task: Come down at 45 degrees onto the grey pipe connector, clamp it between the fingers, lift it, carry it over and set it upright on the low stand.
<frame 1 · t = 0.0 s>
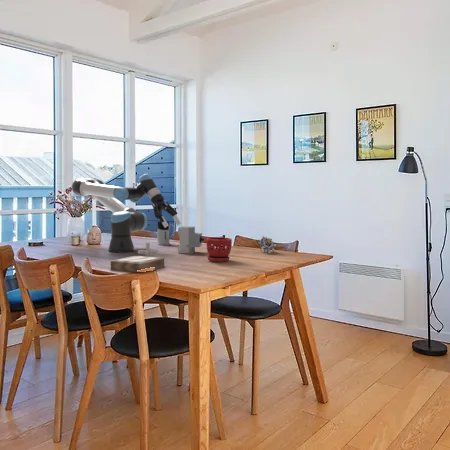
hand: (173, 225, 282), 15 cm above the table, tool tilted 35°, fingers open, 13 cm apart
plant pot: (219, 261, 247), on the table
stand: (137, 267, 225), on the table
passion flower: (265, 253, 275), on the table
circuit breaker: (191, 252, 277), on the table
grey travel mug: (166, 244, 315), on the table
pipe connector: (148, 262, 244), on the table
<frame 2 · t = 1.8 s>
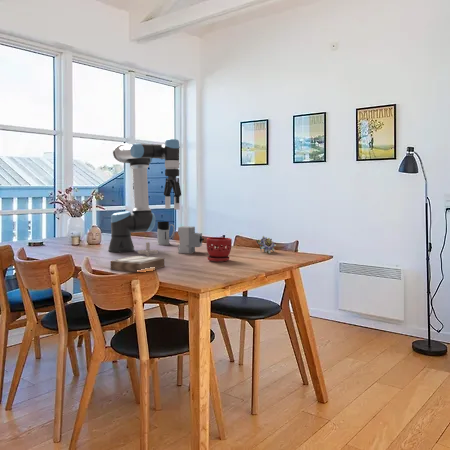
hand: (172, 209, 251), 27 cm above the table, tool pointing down, fingers open, 13 cm apart
nothing on the table moved.
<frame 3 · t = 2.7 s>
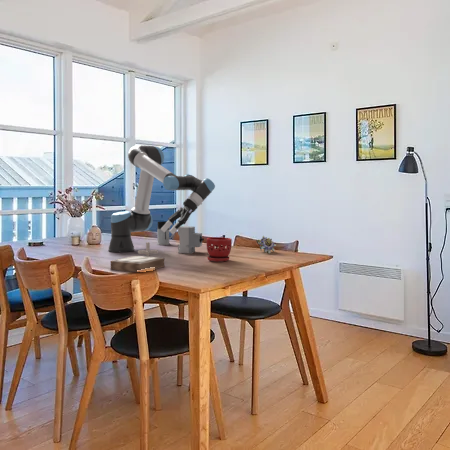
hand: (166, 231, 247), 15 cm above the table, tool tilted 45°, fingers open, 13 cm apart
nothing on the table moved.
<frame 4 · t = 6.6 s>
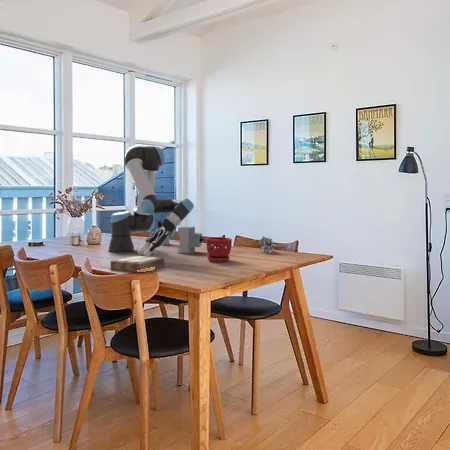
hand: (142, 254, 242), 4 cm above the table, tool tilted 45°, fingers closed on pipe connector, 10 cm apart
pipe connector: (148, 262, 244), on the table, touching gripper
everything else where it was.
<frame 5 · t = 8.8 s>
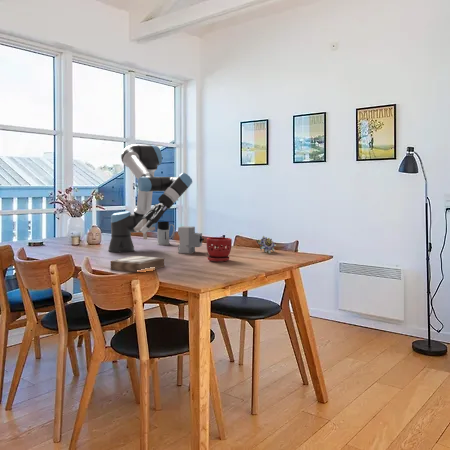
hand: (138, 231, 231), 17 cm above the table, tool tilted 45°, fingers closed on pipe connector, 10 cm apart
pipe connector: (145, 239, 233), point 13 cm above the table, touching gripper
everything else where it was.
when the fingers open (9 cm above the table, at t = 11.4 s): pipe connector moves 1 cm, resting on stand.
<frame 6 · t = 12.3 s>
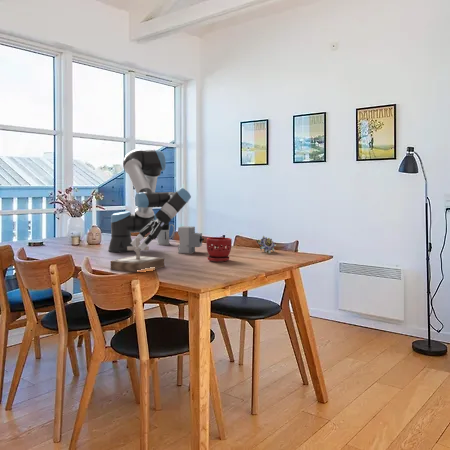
hand: (136, 247, 224), 10 cm above the table, tool tilted 45°, fingers open, 13 cm apart
pipe connector: (138, 259, 225), point 4 cm above the table, touching stand
everything else where it was.
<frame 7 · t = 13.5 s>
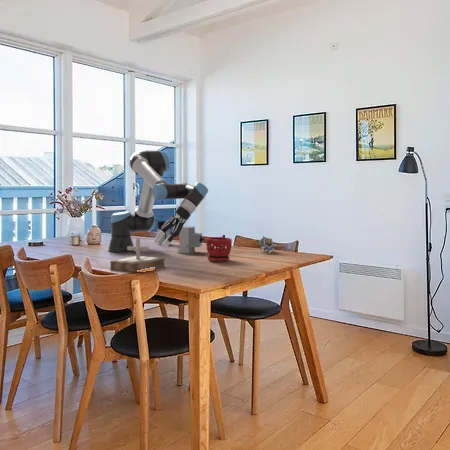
hand: (159, 244, 231), 11 cm above the table, tool tilted 40°, fingers open, 13 cm apart
nothing on the table moved.
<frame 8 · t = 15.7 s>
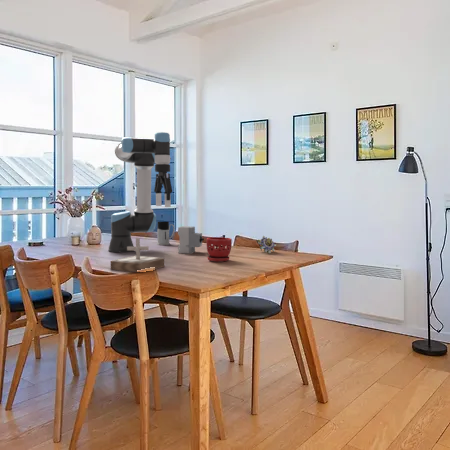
hand: (163, 206, 237), 29 cm above the table, tool pointing down, fingers open, 13 cm apart
nothing on the table moved.
at the end: pipe connector 0.2 cm from the stand (horizontally); pipe connector tilted 0°; the gripper is holding nothing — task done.
